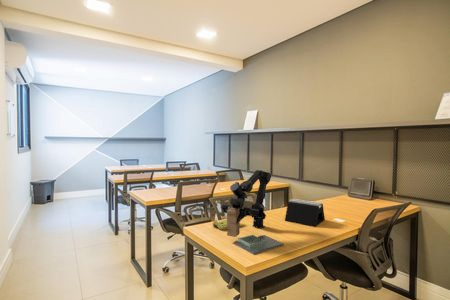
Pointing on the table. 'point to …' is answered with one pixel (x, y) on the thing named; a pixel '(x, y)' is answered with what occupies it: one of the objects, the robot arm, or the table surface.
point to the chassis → (257, 243)
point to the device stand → (304, 212)
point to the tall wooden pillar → (232, 222)
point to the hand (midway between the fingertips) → (232, 222)
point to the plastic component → (220, 224)
